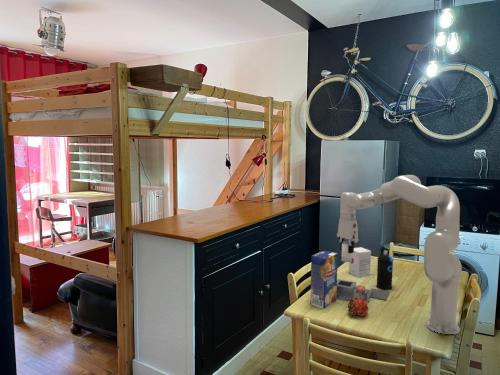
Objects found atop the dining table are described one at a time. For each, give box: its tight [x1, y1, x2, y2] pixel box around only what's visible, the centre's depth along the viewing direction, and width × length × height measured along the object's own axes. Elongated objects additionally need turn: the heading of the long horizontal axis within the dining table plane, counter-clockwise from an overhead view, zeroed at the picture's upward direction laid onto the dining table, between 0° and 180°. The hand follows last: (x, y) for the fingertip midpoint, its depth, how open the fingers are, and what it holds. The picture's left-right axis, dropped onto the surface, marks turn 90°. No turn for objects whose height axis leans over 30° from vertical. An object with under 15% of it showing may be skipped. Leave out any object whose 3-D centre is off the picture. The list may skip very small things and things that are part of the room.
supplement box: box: [348, 246, 372, 278], centre depth 220 cm, size 9×9×15 cm
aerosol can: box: [375, 250, 394, 291], centre depth 199 cm, size 8×8×20 cm
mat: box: [370, 288, 391, 302], centre depth 190 cm, size 12×9×1 cm
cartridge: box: [341, 240, 352, 263], centre depth 190 cm, size 5×5×10 cm
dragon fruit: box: [347, 298, 369, 317], centre depth 168 cm, size 8×8×12 cm
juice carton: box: [310, 250, 339, 310], centre depth 180 cm, size 12×8×24 cm, turn 139°
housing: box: [336, 278, 373, 304], centre depth 189 cm, size 15×18×5 cm
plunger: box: [356, 285, 367, 293], centre depth 182 cm, size 5×5×4 cm
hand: (346, 251), depth 190 cm, fingers closed on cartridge, 5 cm apart
